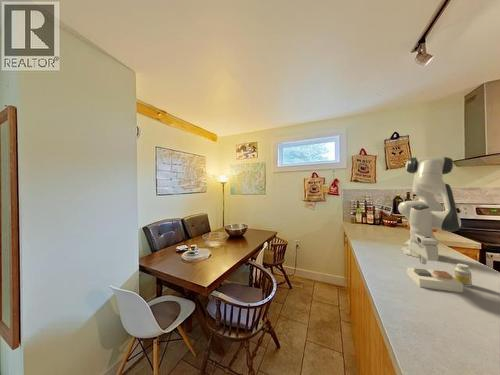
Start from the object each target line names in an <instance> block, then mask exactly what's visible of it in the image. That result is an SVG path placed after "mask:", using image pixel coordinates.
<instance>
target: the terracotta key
mask: <svg viewBox="0 0 500 375" xmlns="http://www.w3.org/2000/svg"><path fill="white" fill-rule="evenodd" d="M432 270H433V274H435V275H436V276H437V277H438V278H447V279H452V277H453V275H452V274H450V273H449V272H448V271H445V270H439V271H436V270H437V269H432Z"/></svg>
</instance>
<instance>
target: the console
mask: <svg viewBox="0 0 500 375" xmlns="http://www.w3.org/2000/svg"><path fill="white" fill-rule="evenodd" d="M414 268H415V267H406V270H407V272H406V273H407V275H408V277H410V279H411V280H412V281H413V282H414V283H415V284H416V285H417V286H418V287H419V288H426V289H433V290H440V291H449V292H456V293H464V286H463V284H462V283H461V282H460V281H458V280H457V279H455V276H452V279H447V278H438V277H437V276H436V275H435V274H433V270H434V269H427V268H425V269H426V270H427V271H428V272H430V273H431V277H429V276H419V275H417V274H416V273H415V272H414ZM416 269H420V268H417V267H416ZM435 270H436V271H440V269H439V270H437V269H435Z"/></svg>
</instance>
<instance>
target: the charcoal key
mask: <svg viewBox="0 0 500 375" xmlns="http://www.w3.org/2000/svg"><path fill="white" fill-rule="evenodd" d="M413 268H414V272H415V273H416V274H417V275H419V276H429V277H431V273H430V272H428V271H427V270H426V269H427V268H419V269H416V268H417V267H416V268H415V267H413Z"/></svg>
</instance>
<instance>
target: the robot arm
mask: <svg viewBox="0 0 500 375" xmlns="http://www.w3.org/2000/svg"><path fill="white" fill-rule="evenodd" d="M454 167H455V164H454V161H453V159H452V158H451V157H447V156H443V157H441V156H424V157H421V156H420V157H416V156H415V157H411V158H409V159H408V160H407V161H406V162H405V170H406V172H407V173H408V174H414V176H413V182H412V187H411V188H412V189H411V191H412V192H411V193H413V194H414V195H415V196H417V197H418V200H405V201H401V202H400V203H399V204H398V206H397V209H398V212H399V213H400V214H401V215H402V216H404V217H405V218H406V220H407V221H408V224H409V232H410V234H409V236H408V240H407V241H405V242H404V243H403V246H402V248H401V249H402V251H403V253H404V254H405V255H408V256H411V257H412V256H413V257H415V258H418V262H419V263H420V264H422V265H427V261H430V262H437V261H438V260H439V257H440V255H439V248H438V246H439V244H440V242H439V240H438V239H437V238H436V236H435V235H434V230H438V231H444V232H449V233H454V232H457V231H458V230H460V229H461V226H462V220H461V217H460V215H459V213H458V210H457V209H458V208H457V205H456V201H455V200H456V199H455V198H454V194H453V190H452V188H451V186H450V184H448V183H446V182H444V180H443V175H447V174H449V173H451V172H452V170H453V169H454ZM435 195H436V196H438V197H441V198H442V201H443V204H444V208H443V205H442V204H441V202H439V201H438V200H437V199H436V197H435ZM443 209H444V210H443Z"/></svg>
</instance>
